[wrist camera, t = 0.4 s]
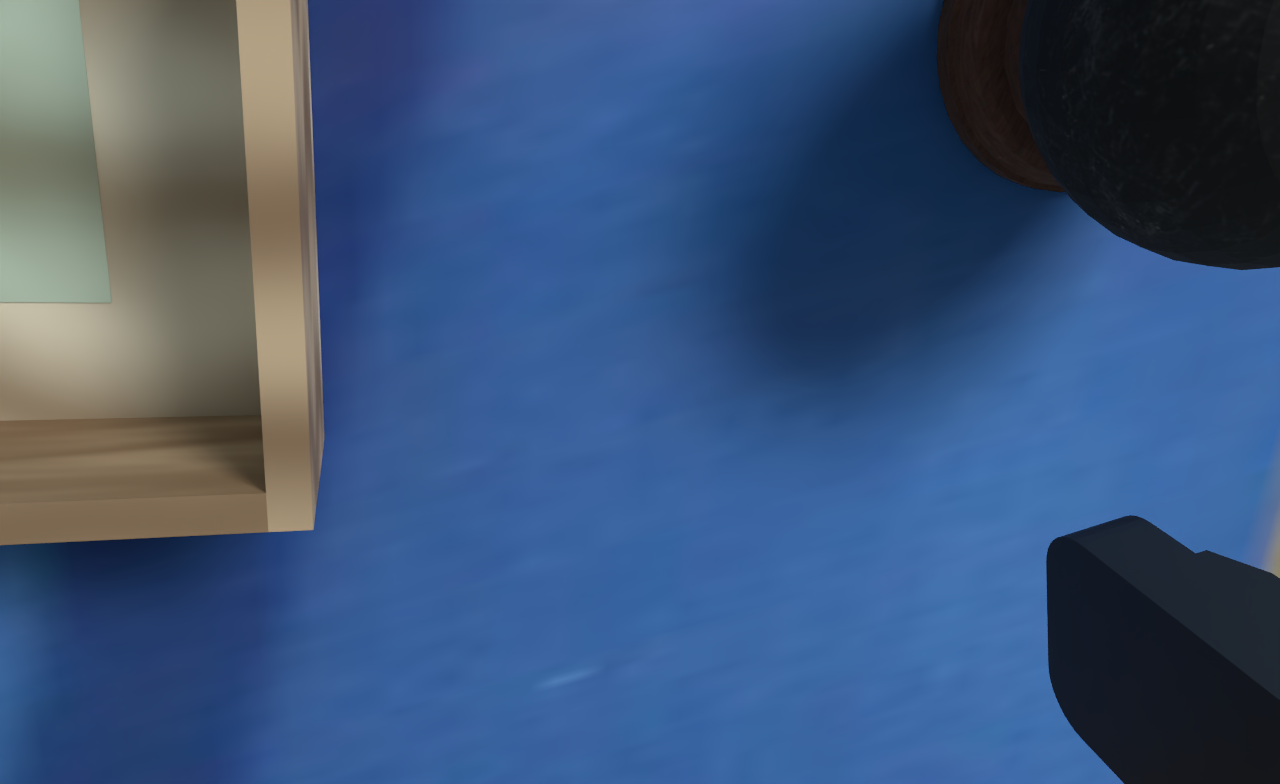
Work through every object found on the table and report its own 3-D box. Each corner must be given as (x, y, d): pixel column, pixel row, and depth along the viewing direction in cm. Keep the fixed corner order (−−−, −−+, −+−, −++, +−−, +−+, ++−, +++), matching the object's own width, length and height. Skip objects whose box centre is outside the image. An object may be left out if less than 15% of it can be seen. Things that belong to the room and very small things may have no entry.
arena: (-338, -219, 25) (-574, -297, 19) (302, -147, 28) (281, -192, 22) (-187, 451, 31) (-328, 561, 25) (324, 437, 35) (313, 529, 28)
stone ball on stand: (1037, -257, 32) (1519, -455, 19) (1297, -56, 37) (1834, -97, 23) (846, 125, 35) (1143, 193, 22) (1109, 266, 40) (1490, 396, 26)
